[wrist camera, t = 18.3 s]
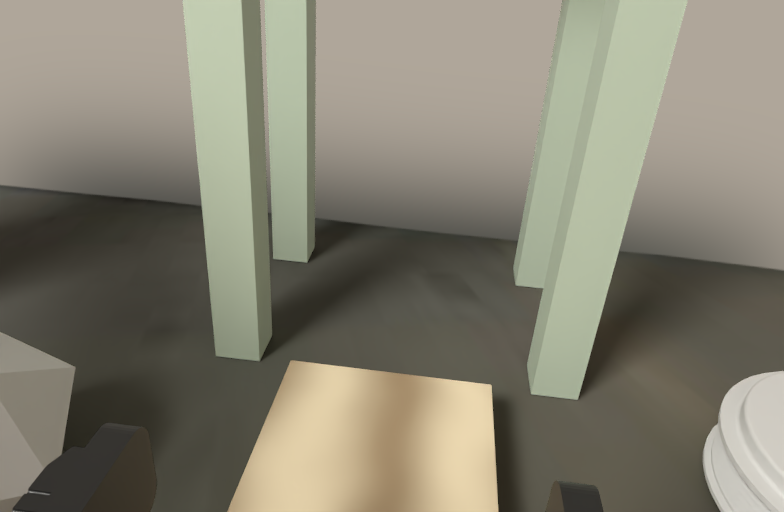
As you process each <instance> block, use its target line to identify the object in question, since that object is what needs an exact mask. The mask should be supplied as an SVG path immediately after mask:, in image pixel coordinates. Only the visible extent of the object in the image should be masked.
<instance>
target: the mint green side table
mask: <svg viewBox="0 0 784 512" xmlns="http://www.w3.org/2000/svg"><path fill="white" fill-rule="evenodd" d="M687 1H688V0H562V6H561V11H560V17H559V22H558V28H557V34H556V39H555V44H554V50H553V55H552V61H551V66H550V71H549V77H548V82H547V87H546V93H545V99H544V104H543V109H542V115H541V120H540V126H539V132H538V136H537V142H536V147H535V153H534V158H533V164H532V169H531V175H530V180H529V186H528V192H527V197H526V202H525V207H524V213H523V218H522V224H521V229H520V235H519V240H518V245H517V251H516V256H515V262H514V267H513V270H514V277H515V284H516V286H524V287H533V288H543V293H542V297H541V302H540V307H539V311H538V316H537V321H536V325H535V330H534V335H533V339H532V344H531V349H530V353H529V358H528V363H527V369H528V376H529V384H530V391H531V394H533V395H542V396H550V397H558V398H566V399H575V400H578V397H579V394H580V390H581V386H582V383H583V379H584V376H585V372H586V368H587V365H588V361H589V357H590V354H591V350H592V346H593V343H594V339H595V336H596V332H597V328H598V325H599V321H600V317H601V314H602V310H603V306H604V303H605V299H606V296H607V292H608V288H609V285H610V281H611V277H612V274H613V270H614V266H615V263H616V259H617V256H618V252H619V248H620V245H621V241H622V237H623V234H624V230H625V226H626V223H627V219H628V215H629V212H630V208H631V205H632V201H633V197H634V194H635V190H636V186H637V183H638V179H639V175H640V172H641V168H642V164H643V161H644V157H645V154H646V150H647V146H648V143H649V139H650V135H651V132H652V128H653V125H654V121H655V117H656V113H657V110H658V106H659V103H660V99H661V95H662V92H663V88H664V85H665V81H666V77H667V74H668V70H669V66H670V63H671V59H672V55H673V52H674V48H675V45H676V41H677V37H678V34H679V30H680V26H681V22H682V19H683V15H684V12H685V8H686V5H687ZM183 9H184V20H185V31H186V40H187V52H188V63H189V74H190V84H191V95H192V106H193V116H194V127H195V137H196V148H197V159H198V168H199V169H198V170H199V181H200V191H201V202H202V213H203V224H204V234H205V245H206V256H207V266H208V277H209V288H210V298H211V309H212V320H213V331H214V341H215V352H216V356H220V357H228V358H236V359H244V360H253V361H260V359H261V357H262V355H263V353H264V351H265V349H266V347H267V345H268V343H269V341H270V339H271V337H272V315H271V288H270V262H269V235H268V208H267V183H266V182H267V181H266V154H265V127H264V101H263V76H262V75H263V74H262V47H261V22H260V21H261V19H260V0H183ZM315 19H316V0H265V22H266V23H265V25H266V55H267V85H268V114H269V143H270V173H271V204H272V234H273V259H278V260H288V261H297V262H306V263H307V262H308V260H309V258H310V256H311V254H312V252H313V250H314V248H315V54H316V51H315V50H316V49H315V48H316V47H315V45H316V42H315V40H316V20H315Z"/></svg>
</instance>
